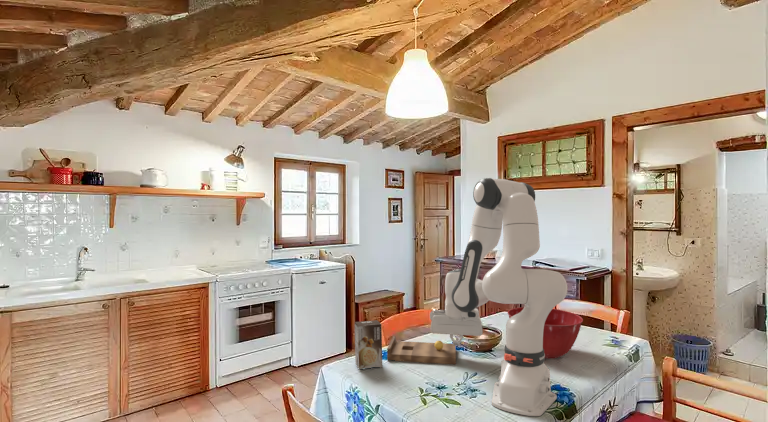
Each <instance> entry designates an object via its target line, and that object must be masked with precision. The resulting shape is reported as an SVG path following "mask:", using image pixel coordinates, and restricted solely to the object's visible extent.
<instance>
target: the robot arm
mask: <svg viewBox="0 0 768 422" xmlns="http://www.w3.org/2000/svg"><path fill="white" fill-rule="evenodd" d="M472 193H473V200H474V202H475V204H476V206H475V208H474V212H473V216H472V221H471V226H470V227H471V228H470V232H469V233H470V234H469V238H468V241H467V245H466V247H465V251H464V255H463V259H462V262H461V266H460V269H454V270H450V271H448V272H447V273H446V275H445V282H444V293H445V300H444V309H433V310H431V311H430V313H429V319H430V320H431V322H430V332H431V333H432V334H437V335H438V334H439V335H449V338H450V340H451V341H452V344H453V346H456V347H460V346H461V342H462V340H463V338H464V336H475V337H481V336H482V335H483V332H484V331H483V323H482V319H481V317H480V311H479V309H478V308H479V307H481V306H483V305H485V304H486V303H488V302H494V303H497V304H498V303H499V304H503V305H506V304H507V305H508V304H509V305H524V309H523V310H522V311H521V312H520V313H518V314H516V315H514V316H512V317H511V318H510V319H509V318H508V320H507V321H506V322H505V323H506V324H505V345H504V349H503V359H502V360H501V362H500V363H501V364H500V365H501V367H500V368H501V371H500V375H498V377H497V380H498V381H496V382H494V384H493V392H492V398H491V405H492V406H493V407H495V408H496V409H498V410H499V409H500V410H502V411H505V412H509V413H512V414H516V415H522V416H529V417H541V416H542V415H543V414H544V413H545V412H546V411H547V409H549V408H550V407H551V405H553V404H554V402H555V401H556V400H557V398H558V396H557V394H556V393H555V392H553V391H551V390H552V389H551V371H550V369H549V367H548V366H547V365H546V364H545V361H546V358H545V353H544V349H543V331H544V324H545V321H546V318H547V316H548V314H549V313H550V312H551V310H552V309H555V307H556V306H557V305H559V304H560V303H562V302H563V301H564V300H565V299H566V297H567V294H568V288H569V287H568V282H567V281H566V278H565V276H564V275H563V274H562V273H561V272H559V271H554V270H550V269H544V268H543V269H542V268H540V269H539V268H522V264H523V261H525V260H527V259H528V258H531V257H533V256H534V255H536V254H537V253H538V252H539V250H540V247H541V242H540V227H539V225H540V224H539V216H538V212H537V211H538V210H537V207H536V203H535V202H536V192H535V189H534V187H533V186H532V185H530V184H528V183H526V182H518V181H515V180H510V179H509V180H508V179H506V178H492V177H489V178H488V177H486V178H485V177H484V178H482V179H479V180H478V181H477V182H476V184H475V186H474V187H473V192H472ZM502 230H503V231H502ZM502 232H503V237H502V238H503V239H502V240H503V241H502V250H501V256H499V257H500V258H499V259H498V261H497V262H496V264H495V265H494V266H493V267H492V268H491V269H489V270H488V271H487V272H486V273H485V275H484V276H483V278H482V279H480V278H478V275H479V272H480V267H481V264H482V261H483V260H484V259H485V257H486V256H487V255H488V254H489V253H490V252H491V251H493V250H494V249H495V248H497V246H498V244H499V241H500V239H501V235H502ZM454 335H458V336H459V337H458V339H455V338H454Z"/></svg>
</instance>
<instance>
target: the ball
mask: <svg viewBox="0 0 768 422" xmlns="http://www.w3.org/2000/svg"><path fill="white" fill-rule="evenodd" d="M434 343H435V348H436V349H437V350H441V349H442V348H443V341H441V340H436V341H435V342H434Z"/></svg>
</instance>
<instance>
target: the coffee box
mask: <svg viewBox="0 0 768 422" xmlns="http://www.w3.org/2000/svg"><path fill="white" fill-rule="evenodd" d="M382 328H383V327H382V323H381V322H380V321H378V320H363V321H354V346H355V347H354V350H355V356H354V357H355V361H354V362H355V366H356V365H357V366H356V368H357V367H358V368H359V369H362V368H371V367H380V368H383V337H382V335H383V334H382ZM358 368H357V369H358ZM359 369H358V370H359ZM371 369H372V368H371Z"/></svg>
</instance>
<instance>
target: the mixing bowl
mask: <svg viewBox="0 0 768 422" xmlns="http://www.w3.org/2000/svg"><path fill="white" fill-rule="evenodd" d="M524 307H525V306H524ZM524 307H523V306H522V307H513V308H511V309H509V310H508V311H507V315H508V320H509V319H510V318H511V317H512V316H514V315H516V314H518V313H520V312H521V311H522V310H523V309H524ZM583 322H584V319H583V318H582V316H580V315H578V314H576V313H573V312H570V311H566V310H562V309H558V308H557V309H556V308H553V309H552V310H551V312H550V313H549V314H548V316H547V318H546V321H545V324H544V331H543V349H544V353H545V359H550V360H551V359H559V358H561V357H563V356H566V354H568V353H569V352H570V351H571V349H572V348H573V346H574V344H575V343H576V340H577V339H578V338H577V337H578V335H579V333H580V331H581V327H582V324H583Z"/></svg>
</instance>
